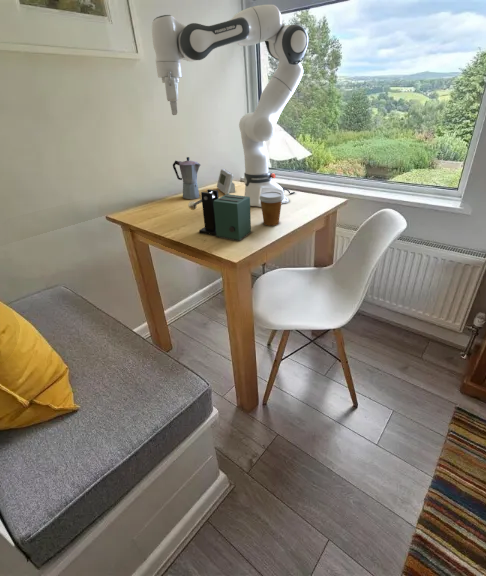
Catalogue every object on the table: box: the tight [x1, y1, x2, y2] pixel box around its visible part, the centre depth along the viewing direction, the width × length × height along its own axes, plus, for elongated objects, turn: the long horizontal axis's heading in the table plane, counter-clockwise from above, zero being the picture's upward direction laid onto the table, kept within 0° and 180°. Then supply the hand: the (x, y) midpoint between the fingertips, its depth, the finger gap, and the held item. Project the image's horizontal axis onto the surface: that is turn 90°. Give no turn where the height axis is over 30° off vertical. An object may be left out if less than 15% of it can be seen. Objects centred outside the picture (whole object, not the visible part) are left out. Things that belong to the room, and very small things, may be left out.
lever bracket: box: [199, 188, 220, 237], centre depth 125 cm, size 8×8×16 cm
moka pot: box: [172, 156, 202, 200], centre depth 165 cm, size 10×15×20 cm, turn 78°
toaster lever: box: [187, 191, 215, 211], centre depth 125 cm, size 13×3×3 cm, turn 63°
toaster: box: [213, 193, 252, 242], centre depth 121 cm, size 10×10×14 cm
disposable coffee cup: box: [259, 192, 283, 227], centre depth 132 cm, size 10×10×12 cm
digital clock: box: [216, 168, 236, 195], centre depth 176 cm, size 16×9×11 cm, turn 11°
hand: (174, 114), depth 127 cm, fingers open, 8 cm apart
